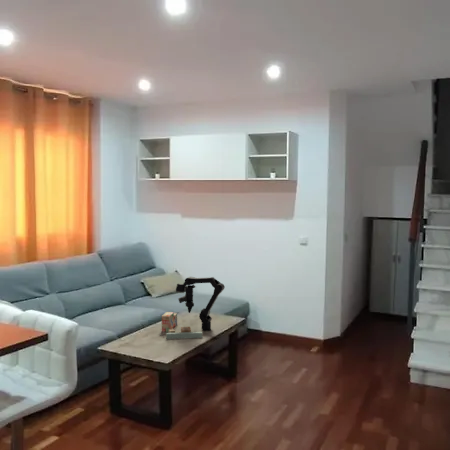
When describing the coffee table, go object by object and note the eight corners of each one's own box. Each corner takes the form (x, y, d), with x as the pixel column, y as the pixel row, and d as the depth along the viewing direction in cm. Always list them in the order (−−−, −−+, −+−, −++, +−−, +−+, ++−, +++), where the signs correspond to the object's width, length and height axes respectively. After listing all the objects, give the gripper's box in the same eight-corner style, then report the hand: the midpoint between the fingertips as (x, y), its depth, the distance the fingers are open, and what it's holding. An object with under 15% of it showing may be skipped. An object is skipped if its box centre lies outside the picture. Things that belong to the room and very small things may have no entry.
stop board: (201, 336, 361) (201, 331, 361) (202, 337, 358) (202, 332, 358) (166, 337, 358) (166, 332, 358) (166, 338, 355) (166, 334, 355)
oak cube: (173, 334, 366) (173, 329, 366) (175, 335, 362) (175, 330, 362) (168, 335, 365) (168, 329, 364) (169, 336, 361) (169, 331, 361)
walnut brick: (190, 333, 370) (190, 326, 370) (191, 337, 360) (191, 330, 360) (180, 333, 369) (180, 326, 369) (181, 337, 359) (181, 330, 359)
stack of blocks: (169, 323, 394) (169, 308, 394) (177, 324, 393) (177, 309, 392) (161, 331, 374) (161, 315, 373) (169, 332, 372) (169, 316, 371)
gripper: (178, 290, 389) (178, 310, 390) (179, 296, 371) (179, 316, 372) (192, 290, 391) (192, 309, 392) (194, 295, 372) (193, 315, 373)
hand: (189, 312), depth 382 cm, fingers closed
